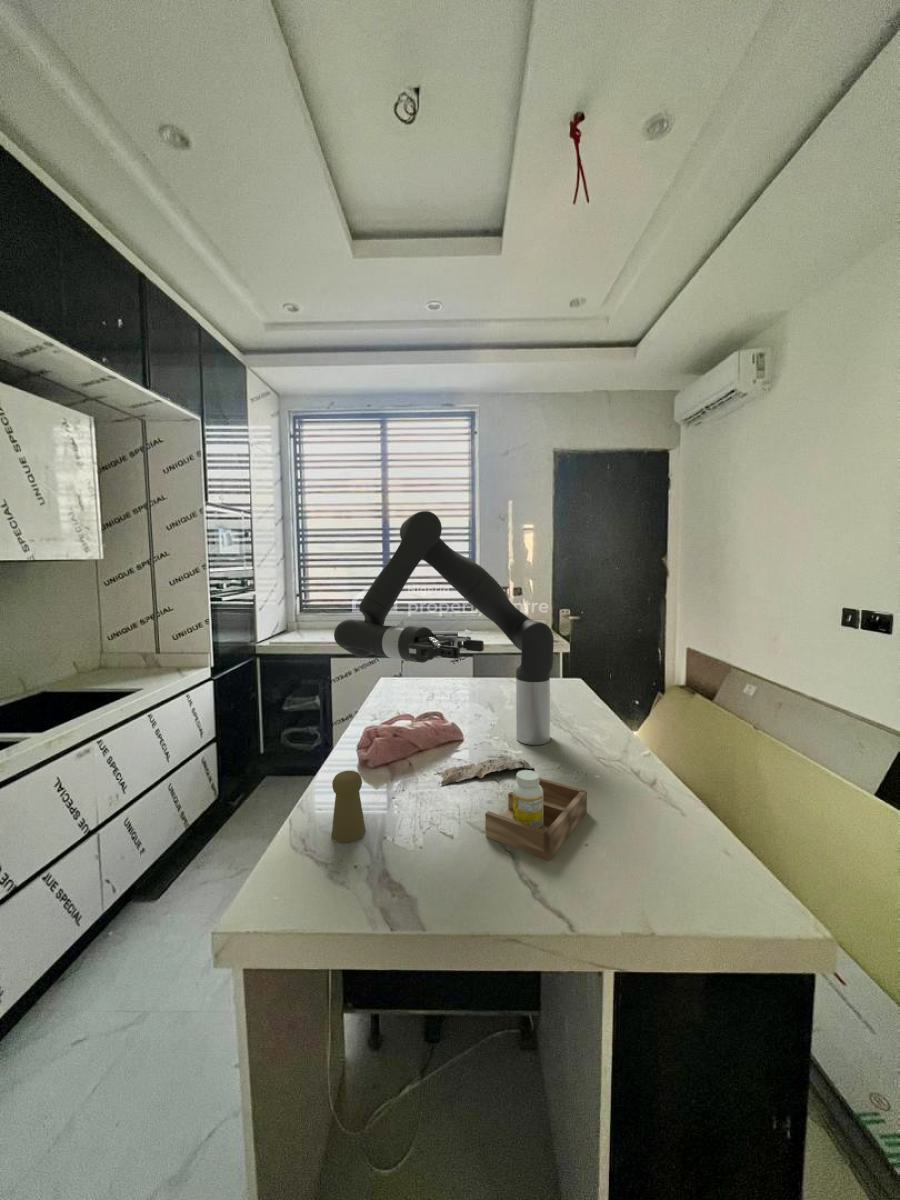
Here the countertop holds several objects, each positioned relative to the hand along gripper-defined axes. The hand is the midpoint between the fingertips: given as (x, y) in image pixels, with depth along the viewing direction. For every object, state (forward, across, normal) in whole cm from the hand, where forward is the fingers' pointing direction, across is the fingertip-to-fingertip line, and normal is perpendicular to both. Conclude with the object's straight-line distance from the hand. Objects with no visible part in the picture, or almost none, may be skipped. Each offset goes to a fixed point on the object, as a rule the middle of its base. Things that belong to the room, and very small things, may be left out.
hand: (471, 649), depth 87 cm
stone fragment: (-7, +14, +33) cm, 36 cm away
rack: (+13, +2, +32) cm, 34 cm away
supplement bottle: (+13, -2, +31) cm, 33 cm away
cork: (-14, -20, +32) cm, 40 cm away
